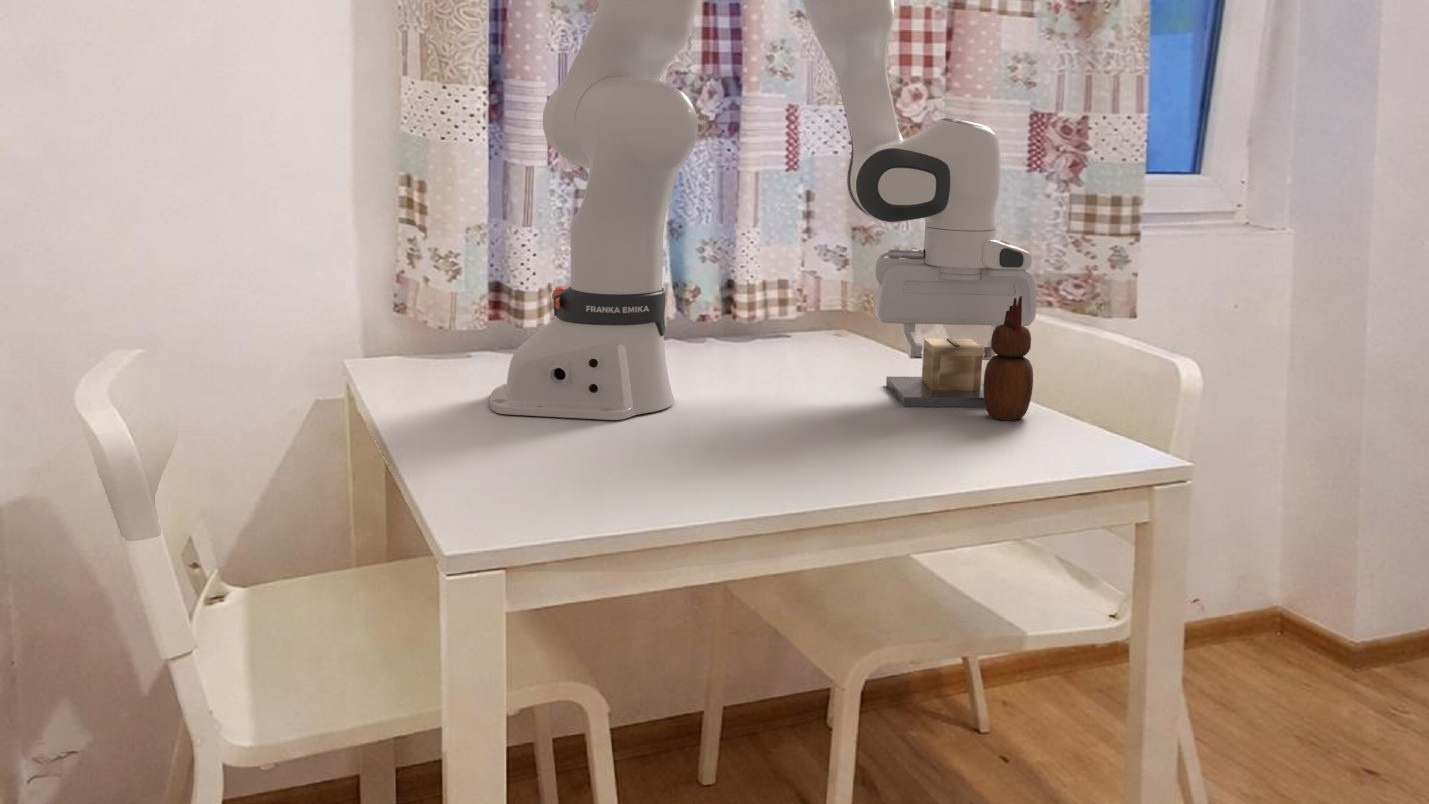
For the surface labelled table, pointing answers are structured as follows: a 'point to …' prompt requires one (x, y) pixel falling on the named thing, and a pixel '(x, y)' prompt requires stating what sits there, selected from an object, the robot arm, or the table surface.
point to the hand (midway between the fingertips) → (951, 358)
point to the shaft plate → (932, 394)
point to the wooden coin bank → (952, 364)
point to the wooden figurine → (1009, 368)
